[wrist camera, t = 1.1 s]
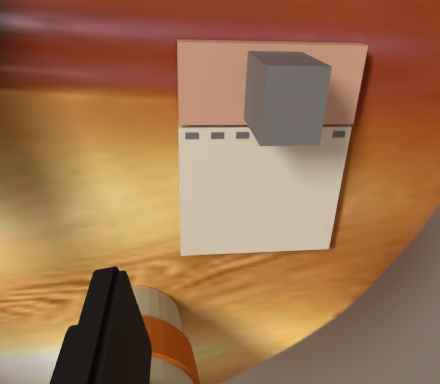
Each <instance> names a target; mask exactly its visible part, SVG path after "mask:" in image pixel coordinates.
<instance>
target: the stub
mask: <svg viewBox="0 0 440 384" xmlns="http://www.w3.org/2000/svg"><path fill="white" fill-rule="evenodd" d="M367 49H368V46H367V45H364V44H361V43H330V42H280V41H229V40H179V39H177V68H178V122H179V125H248V127H249V128H250V130H251V132H252V134H253V135H254V137H255V139H256V140H257V142H258V144H259V145H260V146H307V145H320V141H321V134H322V128H323V124H354V118H355V113H356V108H357V102H358V97H359V92H360V86H361V81H362V76H363V70H364V65H365V60H366V54H367Z"/></svg>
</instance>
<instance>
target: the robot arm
mask: <svg viewBox="0 0 440 384" xmlns="http://www.w3.org/2000/svg"><path fill="white" fill-rule="evenodd" d="M151 358H152V347H151V341H150V338H149V335H148V332H147V329H146V326H145V323H144V321H143V318H142V315H141V312H140V309H139V306H138V304H137V301H136V298H135V295H134V292H133V289H132V287H131V284H130V281H129V278H128V275H127V273H126V271H119V269H118V268H117V267H110V268H105V269H99V270H95V271H94V273H93V275H92V279H91V282H90V285H89V289H88V292H87V296H86V299H85V302H84V306H83V309H82V313H81V316H80V319H79V323H78V325H73V326H70V327H69V328H68V330H67V332H66V334H65V338H64V341H63V344H62V347H61V350H60V353H59V356H58V359H57V362H56V365H55V369H54V372H53V375H52V378H51V381H50V384H149V383H150V371H151Z"/></svg>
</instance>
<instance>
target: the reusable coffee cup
mask: <svg viewBox="0 0 440 384" xmlns="http://www.w3.org/2000/svg"><path fill="white" fill-rule="evenodd" d="M131 287H132V289H133V292H134V295H135V298H136V301H137V304H138V306H139V309H140V312H141V315H142V318H143V321H144V323H145V326H146V329H147V332H148V335H149V338H150V341H151V347H152V358H151V371H150V383H149V384H200V382H199V377H198V373H197V369H196V364H195V360H194V356H193V352H192V347H191V345H190V343H189V341H188V339H187V337H186V336H185V335H184V332H183V328H182V323H181V319H180V314H179V310H178V307H177V305H176V304H175V302H174V301H173V300H172V299H171V298H170V297H169V296H168V295H166V294H165V293H163V292H161V291H160V290H158V289H154V288H151V287H146V286H131Z"/></svg>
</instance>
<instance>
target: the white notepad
mask: <svg viewBox="0 0 440 384" xmlns="http://www.w3.org/2000/svg"><path fill="white" fill-rule="evenodd" d="M351 128H352V127H351V126H350V125H348V124H323V128H322V134H321V141H320V145H307V146H260V145H259V144H258V142H257V140H256V139H255V137H254V135H253V134H252V132H251V130H250V128H249V127H248V125H179V122H178V141H179V209H180V254H181V256H186V255H208V254H230V253H252V252H274V251H296V250H318V249H329V246H330V240H331V235H332V230H333V224H334V219H335V214H336V208H337V203H338V198H339V192H340V187H341V182H342V176H343V171H344V165H345V160H346V155H347V149H348V144H349V139H350V133H351Z"/></svg>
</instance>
